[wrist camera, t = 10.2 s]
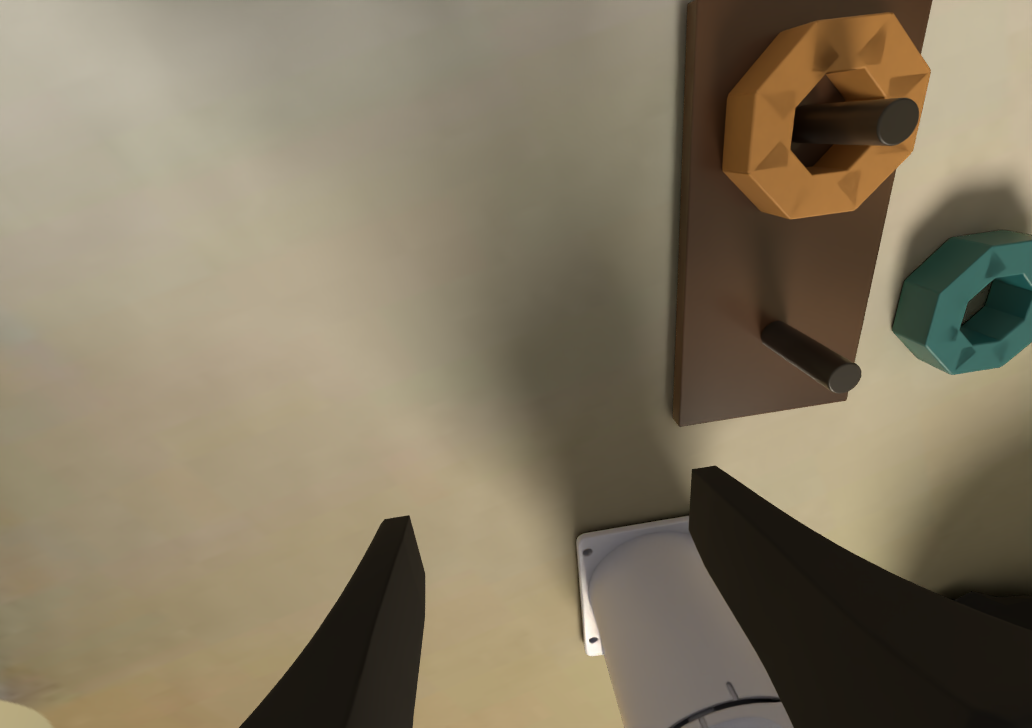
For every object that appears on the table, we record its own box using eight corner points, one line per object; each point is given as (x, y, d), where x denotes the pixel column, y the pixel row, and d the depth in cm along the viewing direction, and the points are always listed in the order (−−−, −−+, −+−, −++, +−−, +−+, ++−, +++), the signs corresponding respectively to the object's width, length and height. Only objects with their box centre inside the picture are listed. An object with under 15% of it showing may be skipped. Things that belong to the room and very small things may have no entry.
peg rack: (834, 392, 23) (925, 454, 19) (672, 418, 23) (724, 488, 18) (918, -23, 16) (1093, -81, 12) (686, 3, 16) (776, -47, 11)
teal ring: (996, 346, 23) (1037, 362, 22) (883, 364, 23) (915, 381, 21) (1040, 224, 21) (1089, 231, 19) (912, 242, 20) (951, 251, 19)
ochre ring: (862, 198, 19) (901, 204, 17) (717, 217, 18) (743, 226, 17) (897, 17, 16) (947, 4, 14) (730, 37, 16) (761, 26, 14)
